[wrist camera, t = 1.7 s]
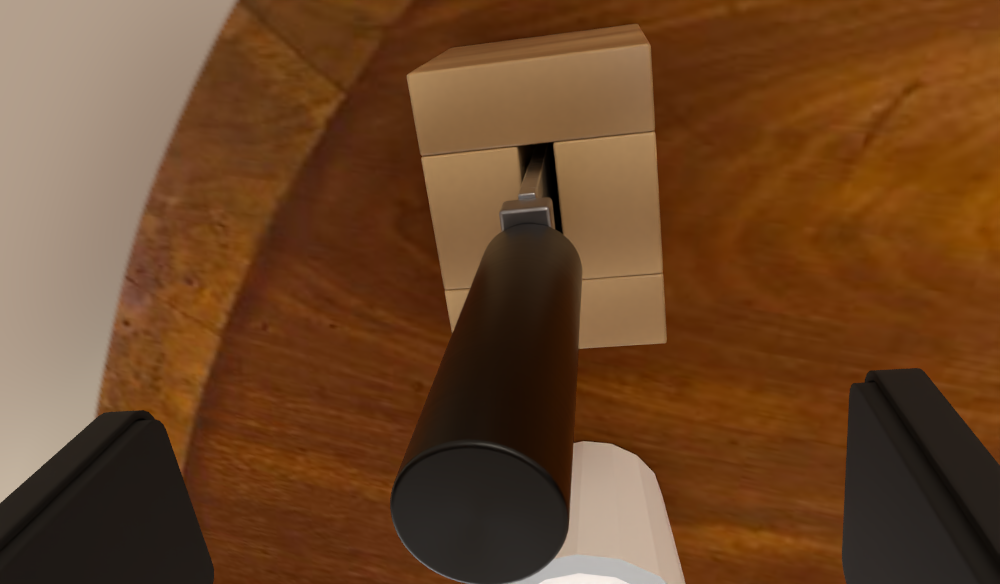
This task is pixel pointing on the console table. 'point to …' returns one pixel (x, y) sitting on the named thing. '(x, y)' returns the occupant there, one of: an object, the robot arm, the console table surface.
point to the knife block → (578, 161)
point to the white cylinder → (613, 524)
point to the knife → (501, 405)
